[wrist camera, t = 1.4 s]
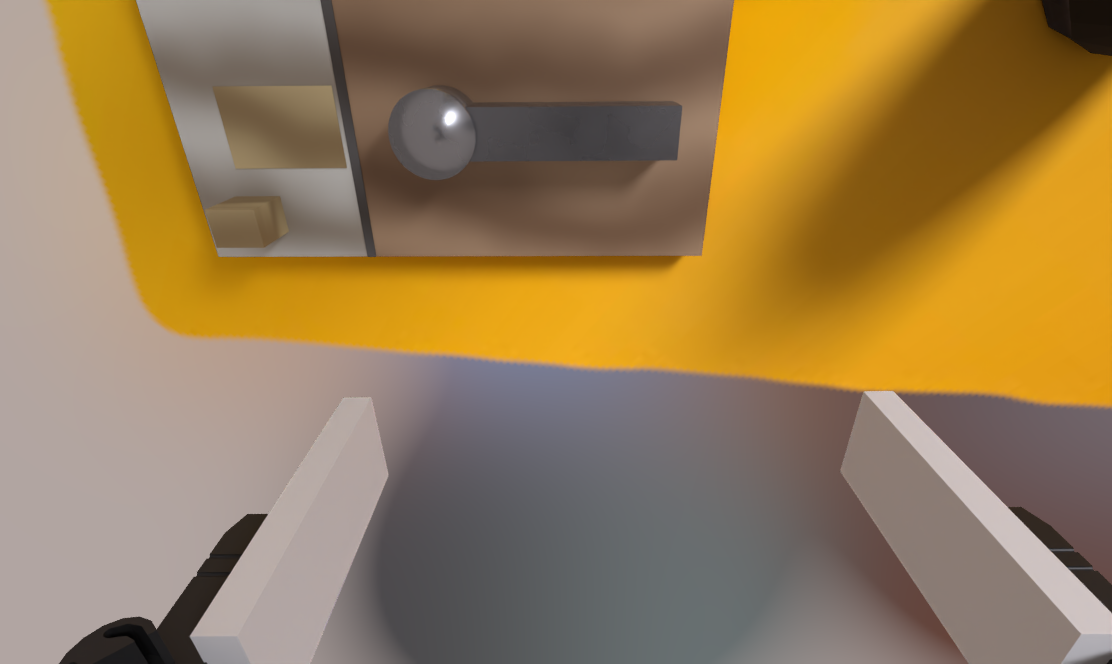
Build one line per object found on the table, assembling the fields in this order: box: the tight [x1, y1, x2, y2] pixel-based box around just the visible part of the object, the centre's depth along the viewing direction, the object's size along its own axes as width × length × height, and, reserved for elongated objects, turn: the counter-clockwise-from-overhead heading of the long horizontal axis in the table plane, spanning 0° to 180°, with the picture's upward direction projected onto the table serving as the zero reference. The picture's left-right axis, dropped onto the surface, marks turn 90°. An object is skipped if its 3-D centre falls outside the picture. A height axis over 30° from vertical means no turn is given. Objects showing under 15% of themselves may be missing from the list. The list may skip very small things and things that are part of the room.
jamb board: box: [136, 0, 734, 257], centre depth 26 cm, size 20×28×5 cm
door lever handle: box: [388, 85, 682, 180], centre depth 26 cm, size 14×4×3 cm, turn 90°
